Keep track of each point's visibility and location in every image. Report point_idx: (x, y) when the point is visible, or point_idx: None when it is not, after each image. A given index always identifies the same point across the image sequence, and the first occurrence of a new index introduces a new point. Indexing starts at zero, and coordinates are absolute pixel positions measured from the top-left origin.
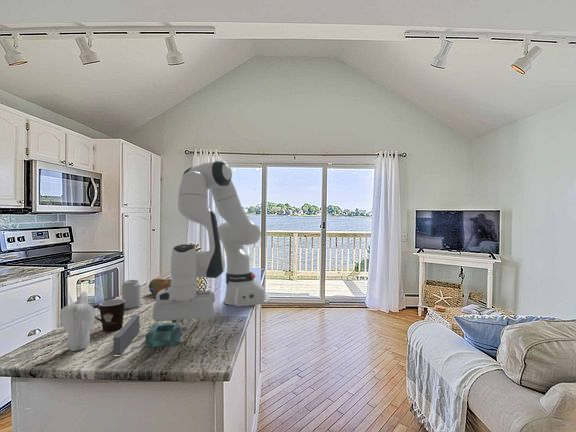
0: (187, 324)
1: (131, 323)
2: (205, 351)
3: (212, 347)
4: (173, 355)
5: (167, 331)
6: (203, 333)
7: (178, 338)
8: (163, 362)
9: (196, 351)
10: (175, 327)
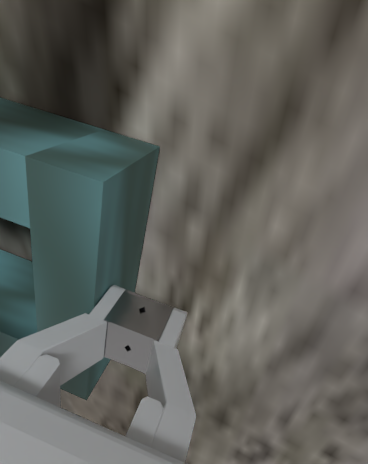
0: (151, 382)
1: None
2: (260, 452)
3: (311, 447)
4: (115, 399)
5: (9, 339)
6: (353, 246)
7: None
8: (85, 416)
9: (218, 429)
10: (52, 301)
